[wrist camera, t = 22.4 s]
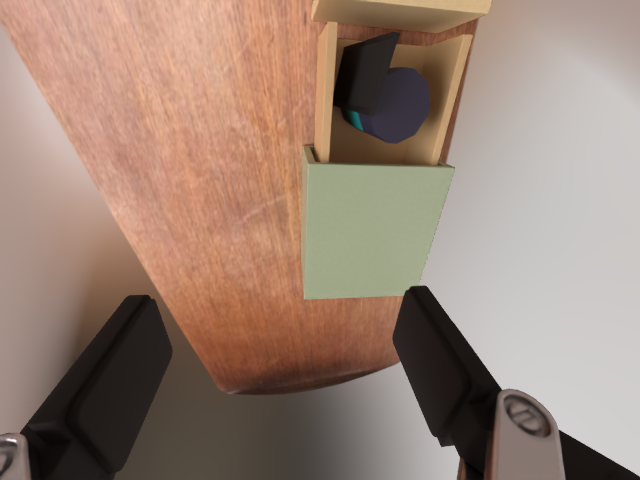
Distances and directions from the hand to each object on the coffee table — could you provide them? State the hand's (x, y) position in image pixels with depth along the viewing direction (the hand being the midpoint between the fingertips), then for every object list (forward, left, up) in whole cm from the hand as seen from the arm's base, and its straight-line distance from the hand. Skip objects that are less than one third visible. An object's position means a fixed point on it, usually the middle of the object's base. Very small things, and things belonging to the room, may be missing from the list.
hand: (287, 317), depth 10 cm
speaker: (0, +12, -24) cm, 27 cm away
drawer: (-1, +14, -25) cm, 29 cm away
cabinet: (+11, +2, -26) cm, 29 cm away
